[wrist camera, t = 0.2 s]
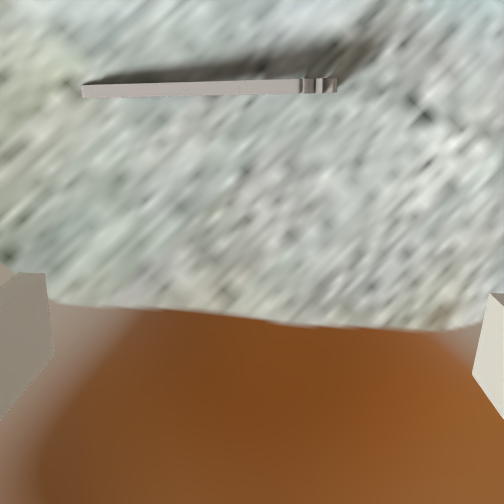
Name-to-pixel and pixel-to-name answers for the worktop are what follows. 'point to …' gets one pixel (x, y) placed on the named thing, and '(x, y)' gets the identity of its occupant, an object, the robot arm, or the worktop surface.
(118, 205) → the worktop surface
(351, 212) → the worktop surface
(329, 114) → the worktop surface
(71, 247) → the worktop surface
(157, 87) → the caliper
